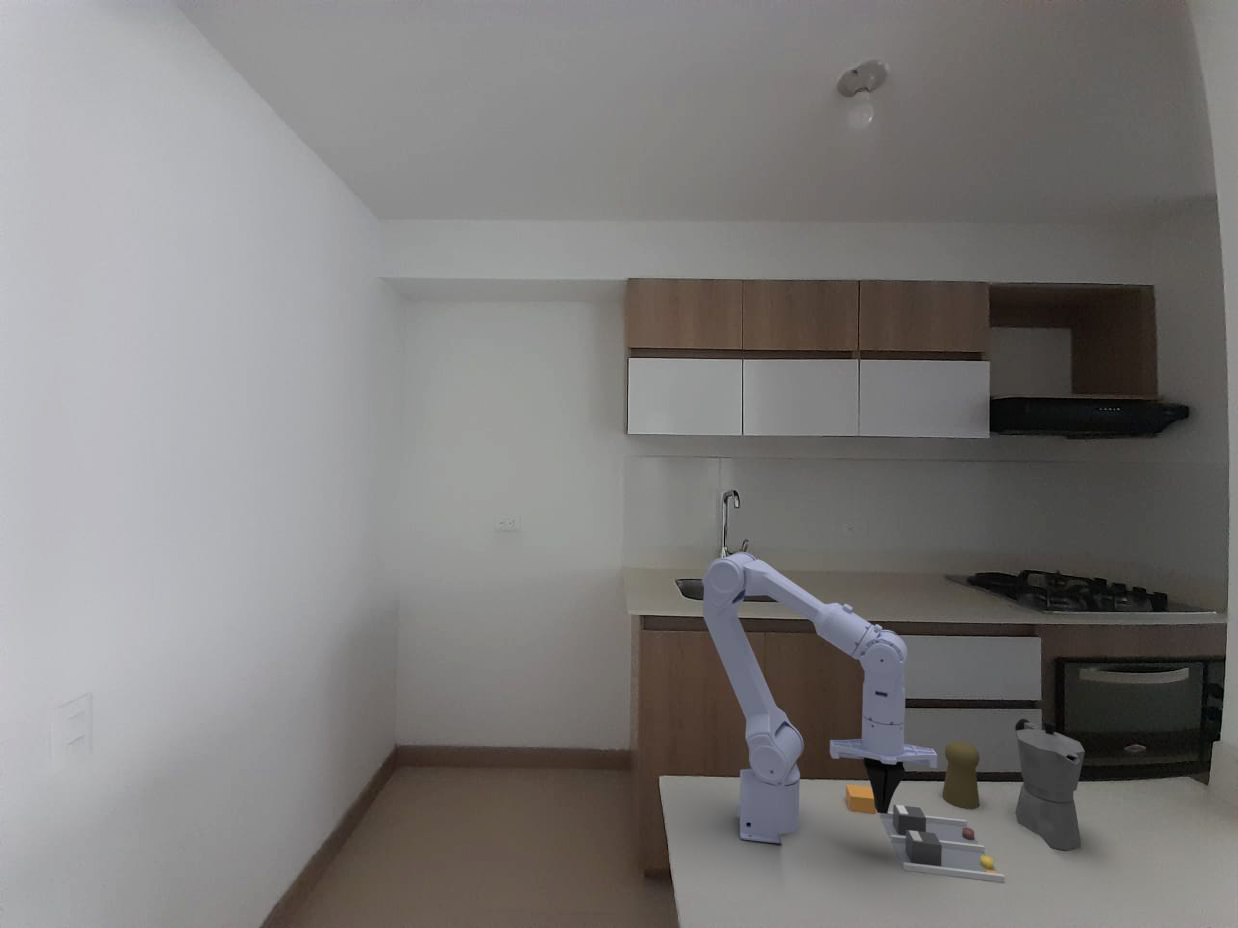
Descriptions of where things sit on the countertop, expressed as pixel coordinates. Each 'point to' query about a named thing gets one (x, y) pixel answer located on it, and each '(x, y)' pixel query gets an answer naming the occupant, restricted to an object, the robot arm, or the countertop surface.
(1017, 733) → the coffeepot
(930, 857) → the toggle
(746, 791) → the robot arm
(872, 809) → the block
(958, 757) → the cork
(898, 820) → the toggle
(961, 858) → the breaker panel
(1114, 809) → the countertop surface
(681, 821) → the countertop surface
